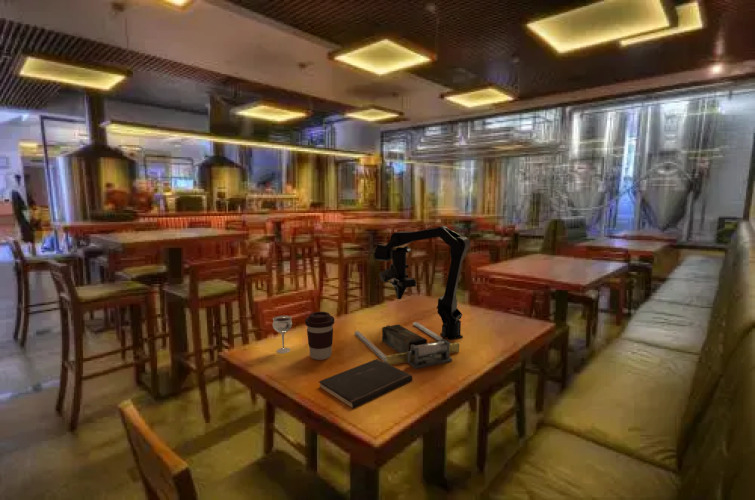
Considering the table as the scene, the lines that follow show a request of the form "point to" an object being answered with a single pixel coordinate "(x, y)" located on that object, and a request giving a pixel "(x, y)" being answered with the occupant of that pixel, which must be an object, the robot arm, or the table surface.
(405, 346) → the beverage carton
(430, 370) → the table surface
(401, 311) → the table surface
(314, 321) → the coffee cup
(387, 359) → the bay
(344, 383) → the hardcover book
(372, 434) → the table surface
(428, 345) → the winch
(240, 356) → the table surface
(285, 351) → the wineglass
